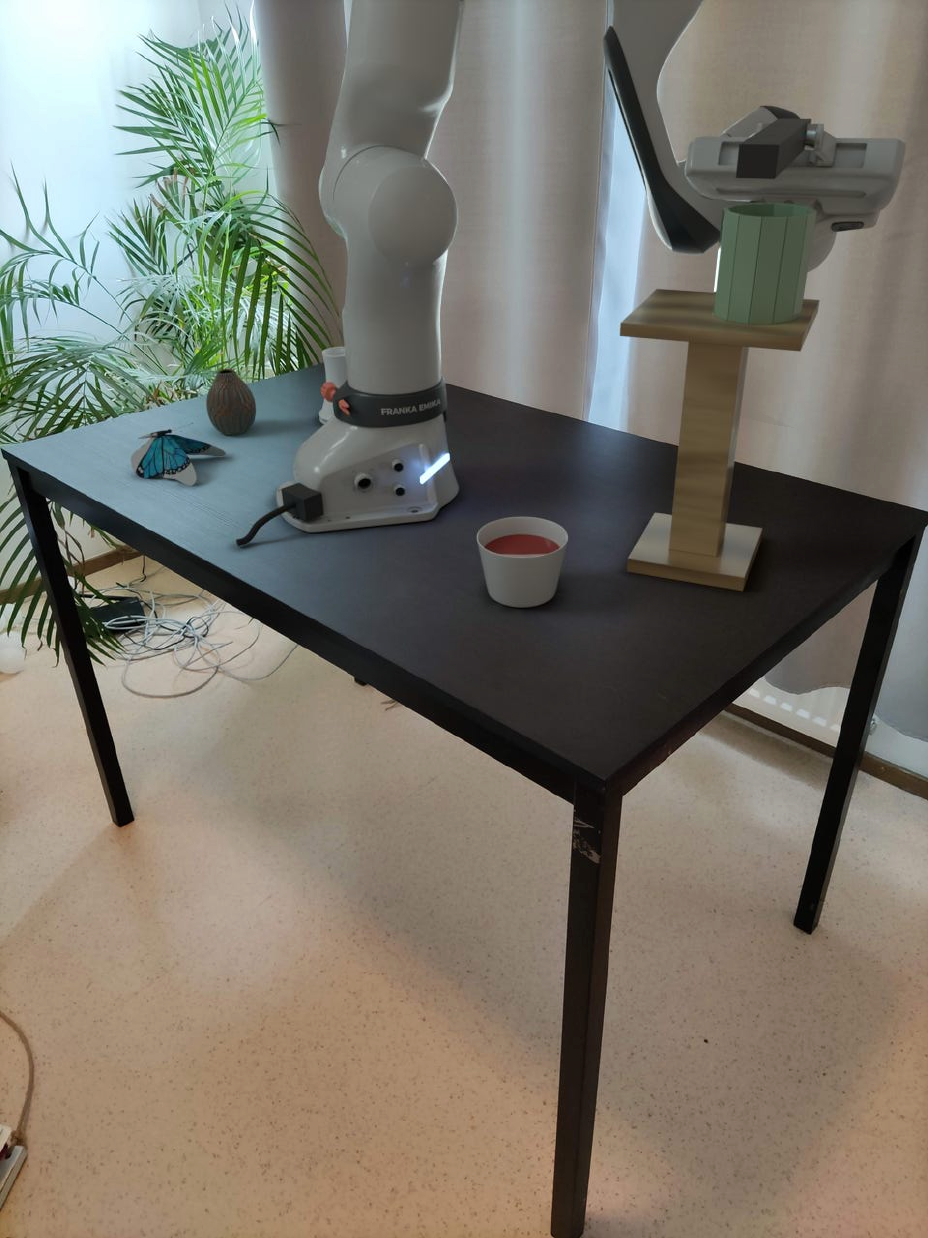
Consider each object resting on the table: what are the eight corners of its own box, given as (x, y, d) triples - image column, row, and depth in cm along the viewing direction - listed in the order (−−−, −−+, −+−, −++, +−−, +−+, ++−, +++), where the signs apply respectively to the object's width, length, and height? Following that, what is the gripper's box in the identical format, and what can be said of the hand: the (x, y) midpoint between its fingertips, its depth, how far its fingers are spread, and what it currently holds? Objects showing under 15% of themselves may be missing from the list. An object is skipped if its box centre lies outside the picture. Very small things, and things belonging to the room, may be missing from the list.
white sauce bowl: (500, 622, 94) (500, 565, 91) (463, 581, 101) (462, 527, 98) (582, 602, 97) (584, 545, 94) (540, 563, 104) (541, 510, 101)
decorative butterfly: (147, 424, 133) (210, 409, 130) (166, 467, 136) (228, 454, 133) (109, 452, 124) (176, 437, 121) (131, 497, 127) (196, 484, 124)
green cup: (746, 328, 86) (759, 219, 81) (696, 308, 92) (706, 207, 88) (817, 317, 89) (835, 211, 84) (764, 299, 95) (777, 199, 90)
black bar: (775, 178, 75) (779, 144, 73) (735, 177, 76) (739, 143, 74) (807, 146, 92) (811, 118, 91) (774, 146, 93) (778, 118, 92)
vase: (253, 438, 138) (245, 378, 134) (205, 439, 139) (195, 379, 134) (263, 421, 144) (255, 363, 140) (216, 422, 145) (207, 364, 140)
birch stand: (761, 599, 97) (802, 337, 83) (605, 572, 102) (620, 322, 89) (780, 540, 108) (819, 299, 94) (638, 518, 113) (656, 288, 100)
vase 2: (309, 418, 145) (301, 351, 140) (349, 406, 149) (344, 340, 144) (339, 430, 140) (332, 362, 135) (380, 417, 145) (375, 350, 139)
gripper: (699, 161, 105) (681, 96, 92) (903, 165, 98) (915, 95, 85) (688, 220, 105) (669, 164, 92) (891, 228, 98) (900, 168, 85)
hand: (788, 131), depth 89 cm, fingers closed on black bar, 3 cm apart
